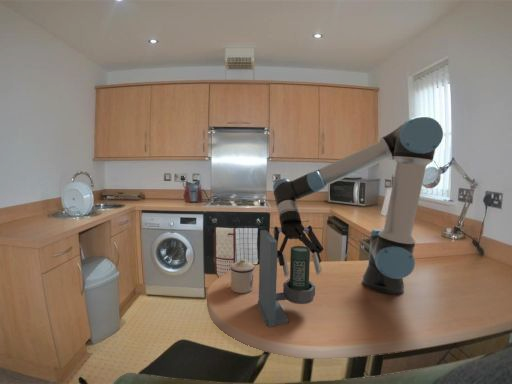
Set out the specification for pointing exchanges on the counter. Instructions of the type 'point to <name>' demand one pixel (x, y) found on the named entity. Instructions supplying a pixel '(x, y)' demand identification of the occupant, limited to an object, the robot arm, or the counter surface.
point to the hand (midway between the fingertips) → (303, 273)
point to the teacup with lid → (242, 276)
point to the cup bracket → (267, 284)
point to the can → (299, 268)
